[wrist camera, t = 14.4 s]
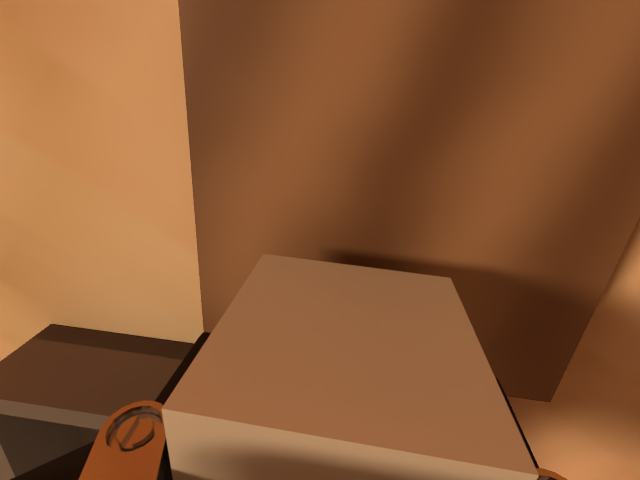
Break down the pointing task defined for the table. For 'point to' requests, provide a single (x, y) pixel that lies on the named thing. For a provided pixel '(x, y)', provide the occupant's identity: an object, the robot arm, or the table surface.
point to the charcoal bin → (74, 389)
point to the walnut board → (423, 153)
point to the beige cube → (342, 384)
